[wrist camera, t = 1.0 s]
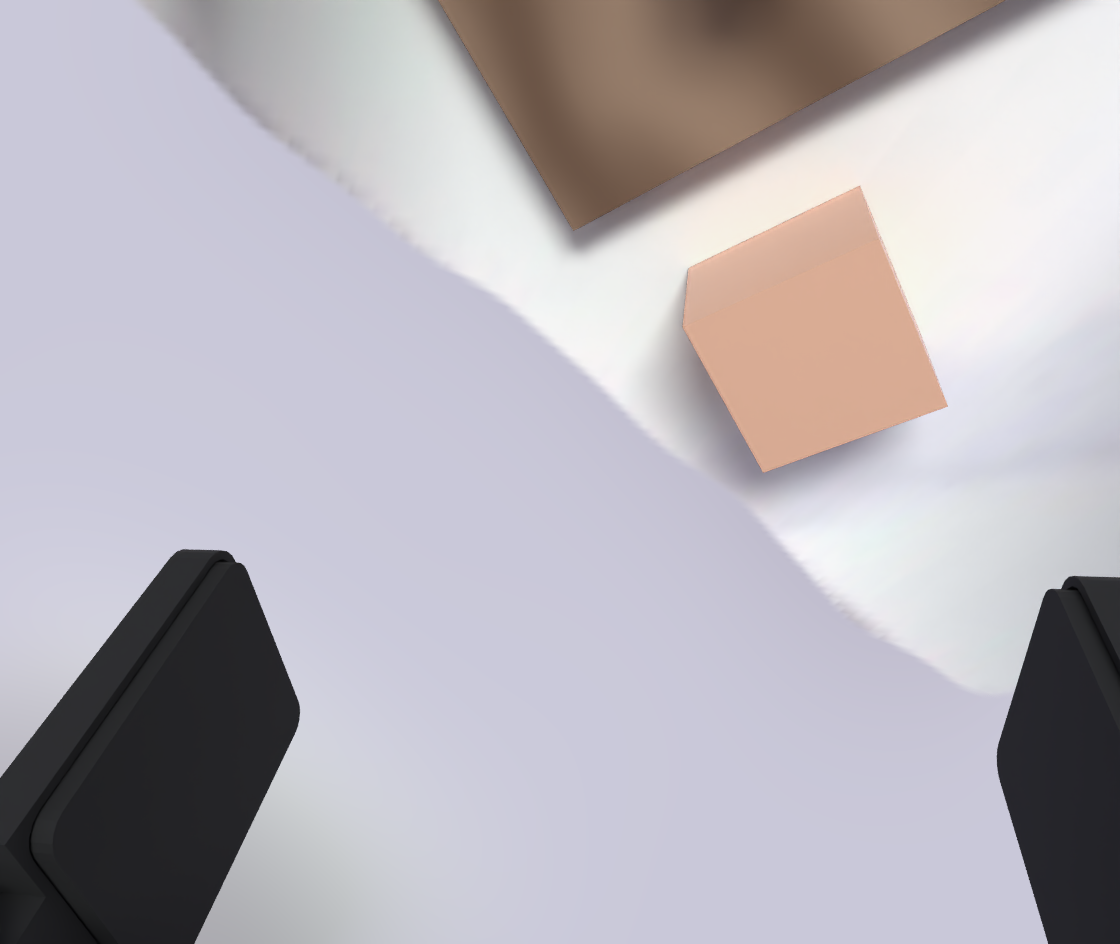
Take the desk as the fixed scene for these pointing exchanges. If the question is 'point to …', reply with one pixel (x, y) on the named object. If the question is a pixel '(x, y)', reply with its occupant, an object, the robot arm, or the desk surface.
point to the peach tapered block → (810, 334)
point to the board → (672, 76)
